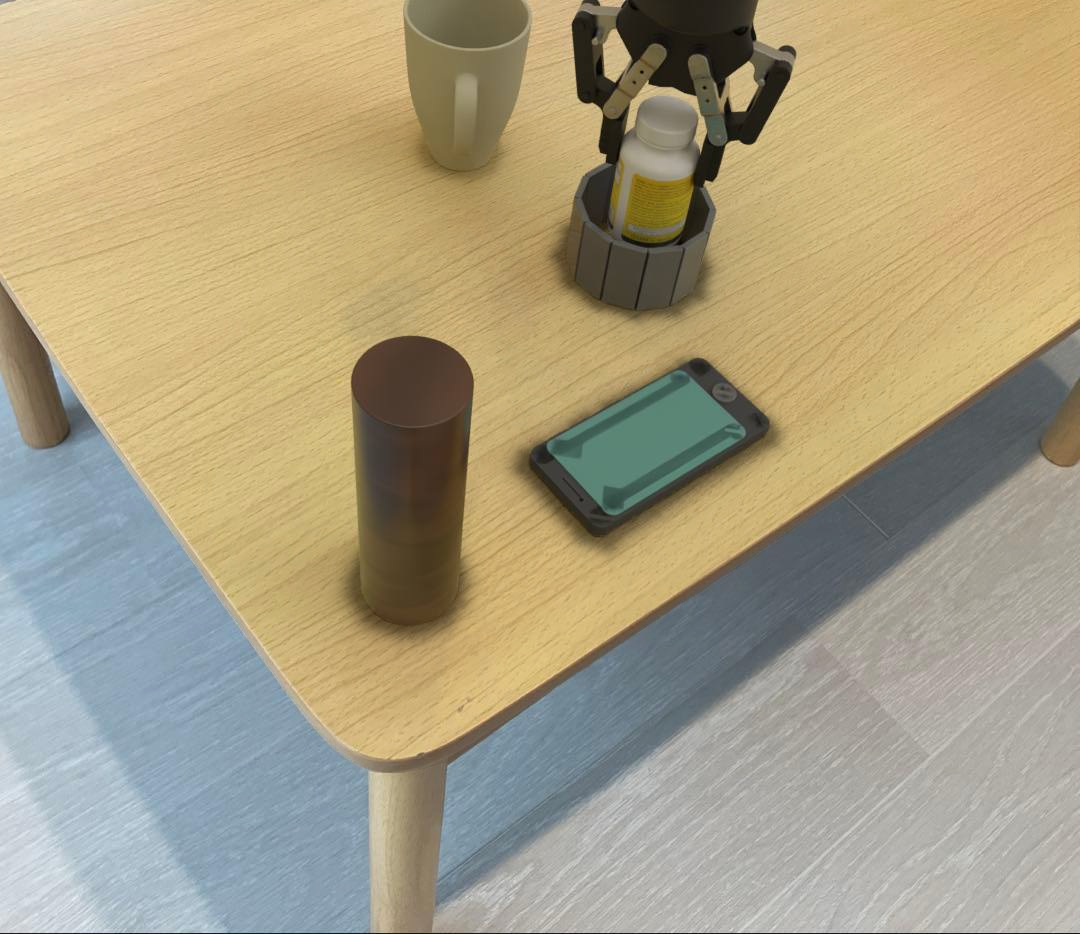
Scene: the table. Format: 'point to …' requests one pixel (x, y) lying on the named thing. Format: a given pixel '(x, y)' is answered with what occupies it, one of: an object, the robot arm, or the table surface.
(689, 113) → the supplement bottle
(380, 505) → the brown metal stand
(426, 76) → the mug
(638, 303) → the grey ring
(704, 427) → the smartphone
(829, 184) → the table surface
